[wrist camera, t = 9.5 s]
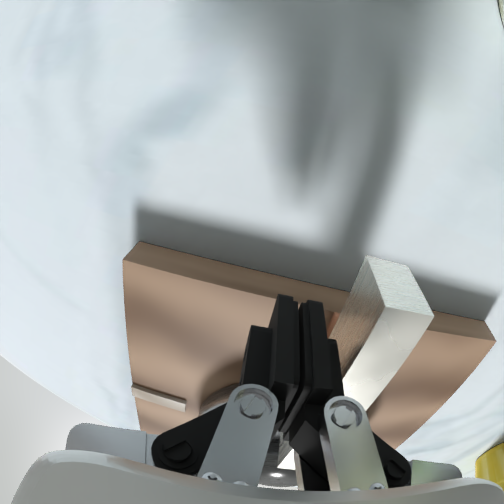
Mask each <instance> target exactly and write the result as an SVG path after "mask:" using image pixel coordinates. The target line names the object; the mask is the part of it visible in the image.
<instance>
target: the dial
mask: <svg viewBox="0 0 504 504" xmlns="http://www.w3.org/2000/svg"><path fill="white" fill-rule="evenodd" d="M433 318H434V314H433V312H432V310H431V308H430V307H429V305H428V303H427V301H426V299H425V297H424V295H423V293H422V291H421V289H420V287H419V286H418V284H417V282H416V280H415V278H414V277H413V275H412V273H411V271H410V269H409V268H408V266H406V265H402V264H399V263H395V262H391V261H387V260H383V259H380V258H376V257H372V256H368V255H366V256H365V259H364V261H363V263H362V266H361V268H360V271H359V273H358V275H357V278H356V280H355V282H354V285H353V287H352V289H351V291H350V294H349V296H348V298H347V300H346V302H345V305H344V307H343V309H342V311H341V313H340V315H339V318H338V320H337V322H336V324H335V326H334V328H333V330H332V332H331V334H330V336H329V339H335V340H336V341H337V345H338V351H339V358H340V365H341V372H342V380H343V388H344V396H347V397H350V398H353V399H355V400H356V401H358V402H359V403H360V404H361V405H362V406H363V407H364V409H365V411H366V414H367V417H368V420H369V416H368V412H367V409H368V408H369V407H370V405H371V404H372V403H373V402H374V401H375V399H376V398H377V397H378V396H379V394H380V393H381V392H382V391H383V389H384V388H385V387H386V386H387V384H388V383H389V382H390V380H391V379H392V378H393V376H394V375H395V374H396V372H397V371H398V370H399V368H400V367H401V366H402V364H403V363H404V361H405V360H406V359H407V357H408V356H409V354H410V353H411V352H412V350H413V349H414V347H415V346H416V344H417V343H418V341H419V340H420V338H421V337H422V335H423V334H424V332H425V331H426V329H427V327H428V326H429V324H430V323H431V321H432V319H433ZM237 387H239V383H237V384H233V385H230V386H228V387H225V388H222V389H220V390H218V391H216V392H214V393H213V394H212V395H210V396H209V397H208V398H207V399H206V400H205V401H204V402H203V404H202V405H201V408H200V411H199V415H198V417H199V416H201V415H203V414H205V413H207V412H209V411H211V410H213V409H215V408H217V407H219V406H221V405H223V404H225V403H227V402H228V399H229V397H230V395H231V393H232V392H233V390H235V389H236V388H237ZM258 484H262V485H267V486H276V487H290V486H298V485H297V478H296V471H295V463H294V449H293V448H292V447H291V446H290V445H289V441H284V440H283V432H279V431H277V432H276V434H275V436H274V438H273V439H272V441H271V443H269V447H268V451H267V454H266V458H265V462H264V465H263V469H262V472H261V476H260V479H259V482H258Z"/></svg>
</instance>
